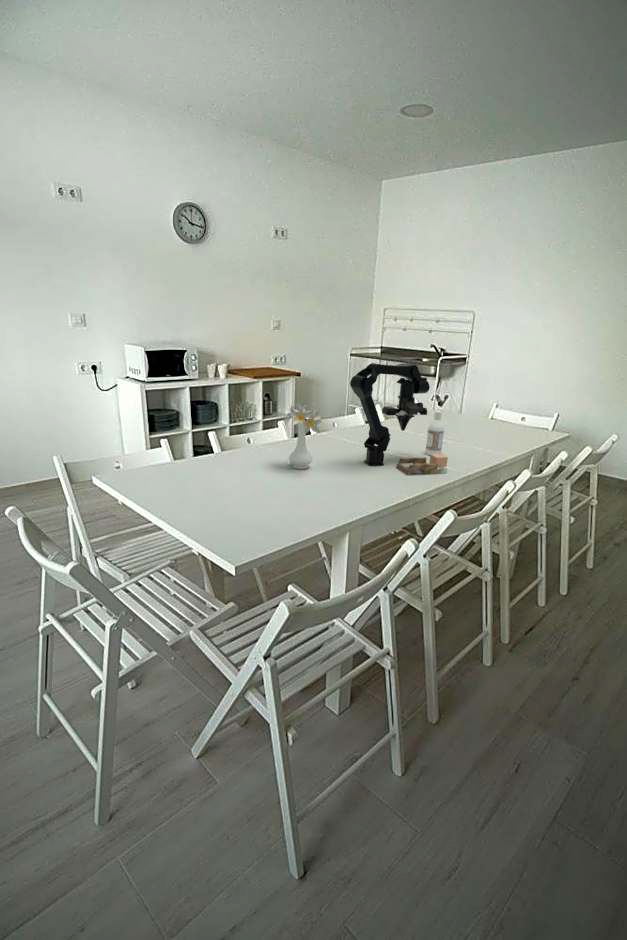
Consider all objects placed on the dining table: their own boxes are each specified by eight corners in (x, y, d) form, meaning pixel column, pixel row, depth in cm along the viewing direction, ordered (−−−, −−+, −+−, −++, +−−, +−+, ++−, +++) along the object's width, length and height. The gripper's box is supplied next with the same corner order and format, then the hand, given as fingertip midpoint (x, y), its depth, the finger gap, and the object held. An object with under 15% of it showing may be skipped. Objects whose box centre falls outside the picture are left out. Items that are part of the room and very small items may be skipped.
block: (435, 467, 196) (436, 457, 195) (429, 463, 201) (430, 454, 200) (446, 466, 198) (447, 457, 197) (440, 463, 202) (441, 453, 201)
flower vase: (300, 475, 184) (303, 410, 176) (276, 463, 198) (278, 402, 191) (328, 471, 191) (332, 408, 183) (303, 459, 205) (306, 400, 198)
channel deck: (407, 475, 191) (408, 465, 190) (396, 467, 200) (397, 458, 199) (446, 473, 196) (447, 463, 195) (433, 465, 205) (434, 456, 204)
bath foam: (422, 452, 225) (427, 410, 219) (433, 451, 228) (439, 409, 222) (431, 456, 219) (437, 413, 213) (443, 455, 222) (449, 412, 216)
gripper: (394, 397, 193) (391, 435, 198) (436, 397, 199) (431, 434, 203) (383, 393, 203) (379, 429, 208) (422, 393, 209) (418, 428, 213)
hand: (402, 430), depth 208 cm, fingers closed
